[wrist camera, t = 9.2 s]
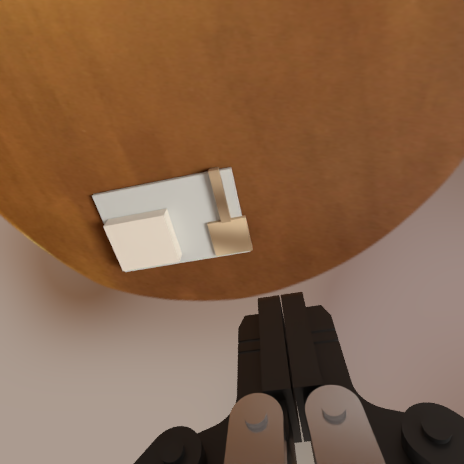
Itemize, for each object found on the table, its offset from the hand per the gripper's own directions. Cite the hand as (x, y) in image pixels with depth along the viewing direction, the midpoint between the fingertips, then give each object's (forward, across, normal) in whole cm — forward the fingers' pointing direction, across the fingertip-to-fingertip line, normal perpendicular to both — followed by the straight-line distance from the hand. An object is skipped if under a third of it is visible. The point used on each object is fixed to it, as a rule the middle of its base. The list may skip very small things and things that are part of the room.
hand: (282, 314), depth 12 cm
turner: (+31, +6, +11) cm, 34 cm away
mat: (+32, +13, +11) cm, 36 cm away
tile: (+30, +13, +12) cm, 35 cm away
